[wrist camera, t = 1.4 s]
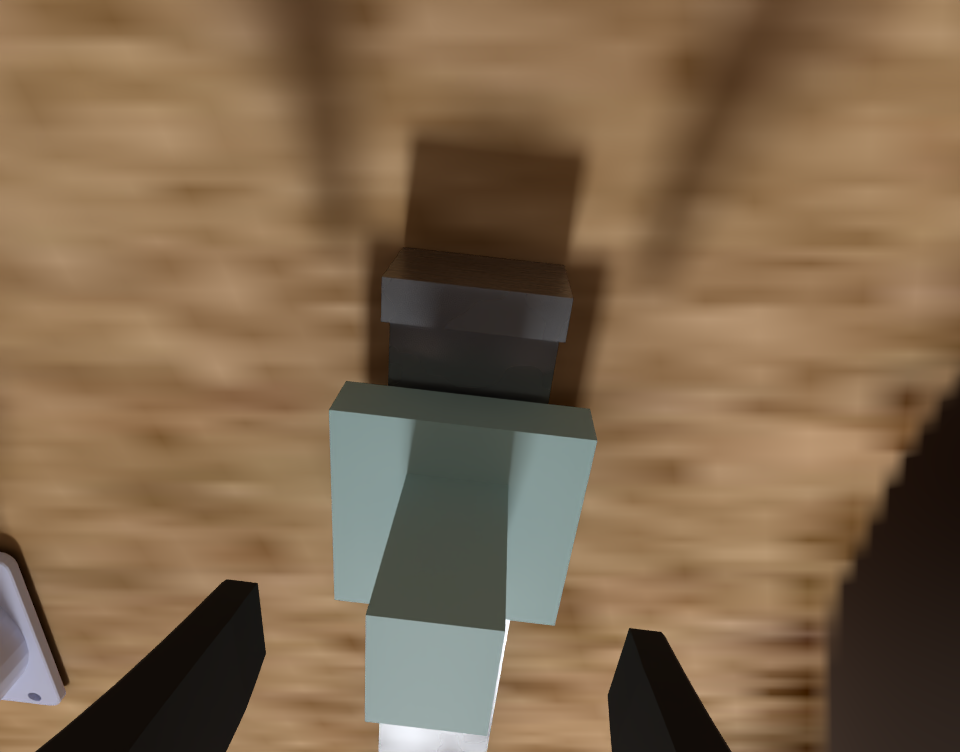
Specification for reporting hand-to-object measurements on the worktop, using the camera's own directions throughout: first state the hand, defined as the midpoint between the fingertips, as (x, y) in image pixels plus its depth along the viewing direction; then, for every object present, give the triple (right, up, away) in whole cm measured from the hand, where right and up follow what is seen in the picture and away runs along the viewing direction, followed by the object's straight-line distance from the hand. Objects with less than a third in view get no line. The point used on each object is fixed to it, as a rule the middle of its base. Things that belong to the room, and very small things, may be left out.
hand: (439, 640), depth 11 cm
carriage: (0, +2, +4) cm, 5 cm away
